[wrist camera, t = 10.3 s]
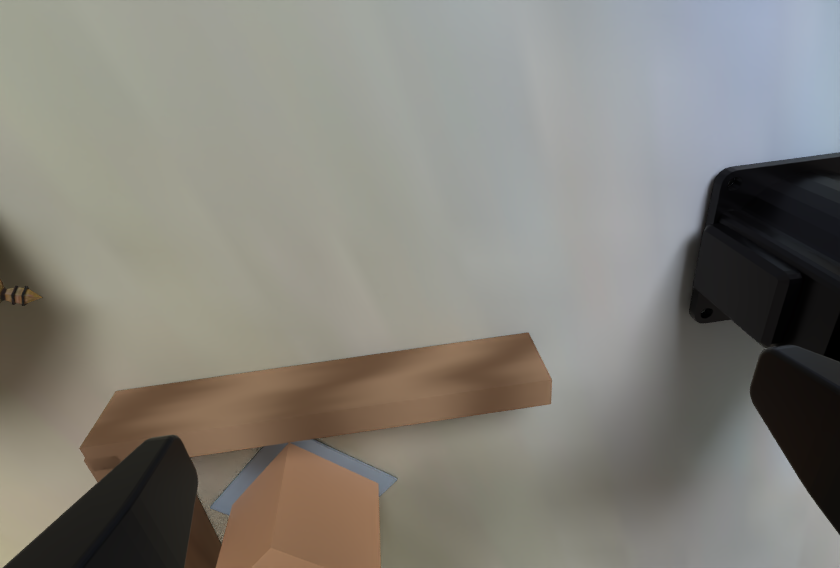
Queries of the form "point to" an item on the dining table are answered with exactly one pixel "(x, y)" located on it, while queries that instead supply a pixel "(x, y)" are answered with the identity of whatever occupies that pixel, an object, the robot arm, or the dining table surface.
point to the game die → (17, 295)
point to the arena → (315, 410)
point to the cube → (304, 517)
